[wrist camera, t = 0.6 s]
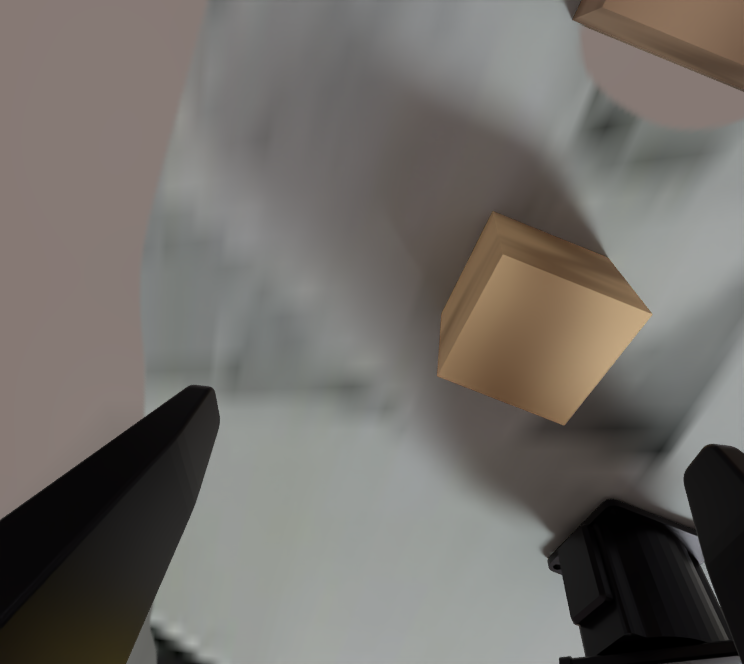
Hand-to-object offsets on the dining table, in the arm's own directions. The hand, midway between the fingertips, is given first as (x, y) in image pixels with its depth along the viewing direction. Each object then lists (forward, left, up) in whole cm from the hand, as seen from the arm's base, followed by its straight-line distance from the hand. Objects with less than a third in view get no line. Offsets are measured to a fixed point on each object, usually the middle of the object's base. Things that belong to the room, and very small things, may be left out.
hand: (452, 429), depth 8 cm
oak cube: (-4, +1, -12) cm, 13 cm away
